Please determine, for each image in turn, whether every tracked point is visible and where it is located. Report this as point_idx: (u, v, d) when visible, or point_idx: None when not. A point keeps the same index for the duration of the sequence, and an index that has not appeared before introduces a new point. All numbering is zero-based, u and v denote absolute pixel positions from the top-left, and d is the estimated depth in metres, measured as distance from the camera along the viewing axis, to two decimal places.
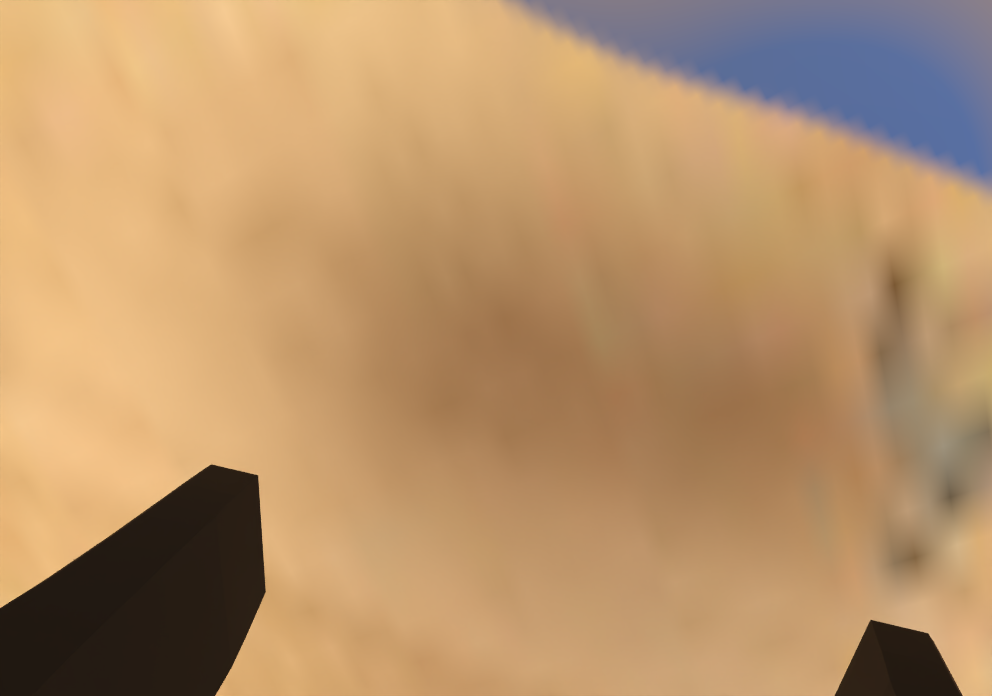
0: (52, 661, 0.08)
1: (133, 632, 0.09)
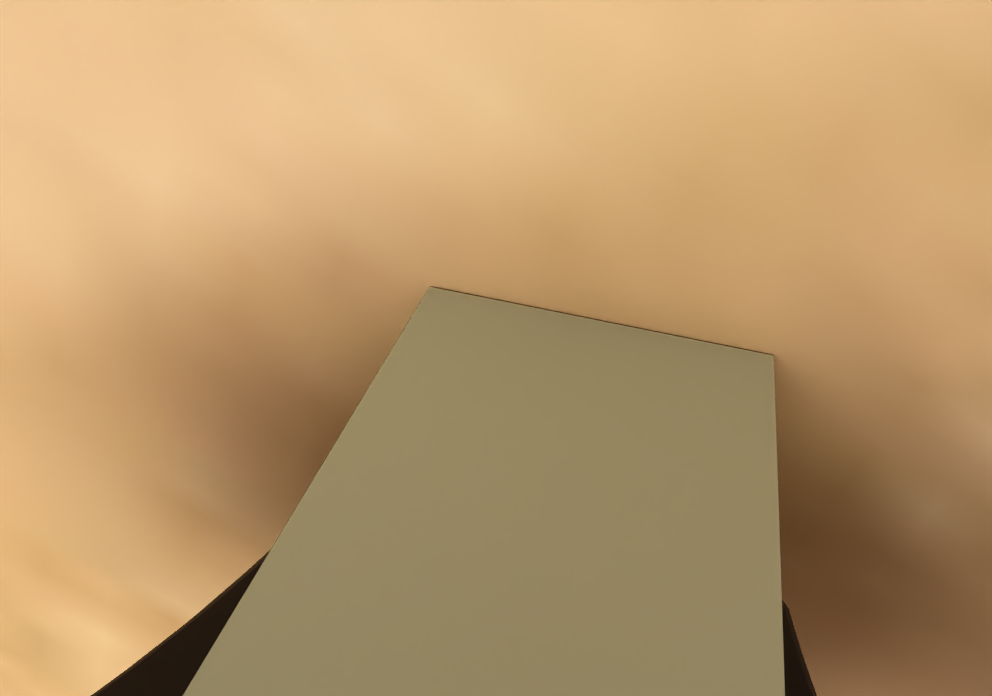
0: None
1: None
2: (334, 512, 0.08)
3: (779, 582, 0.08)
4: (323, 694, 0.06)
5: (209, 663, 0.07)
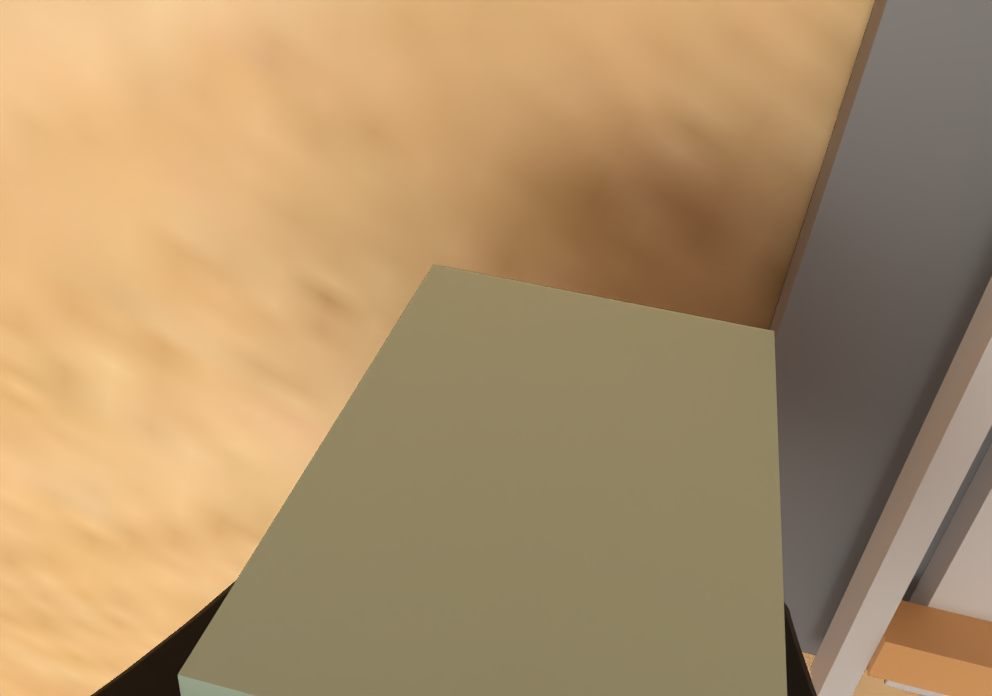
0: None
1: None
2: (340, 477, 0.08)
3: (780, 545, 0.08)
4: (330, 649, 0.06)
5: (219, 619, 0.07)
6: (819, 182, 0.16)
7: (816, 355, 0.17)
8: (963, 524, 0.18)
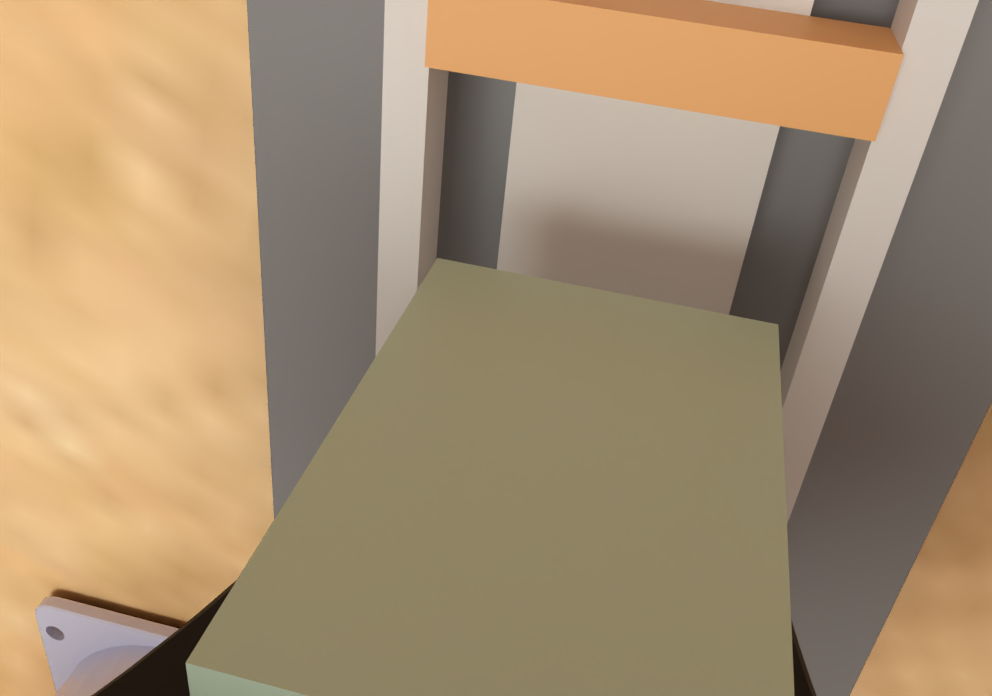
0: None
1: None
2: (346, 468, 0.08)
3: (786, 536, 0.08)
4: (339, 637, 0.06)
5: (226, 608, 0.07)
6: None
7: (304, 316, 0.16)
8: None
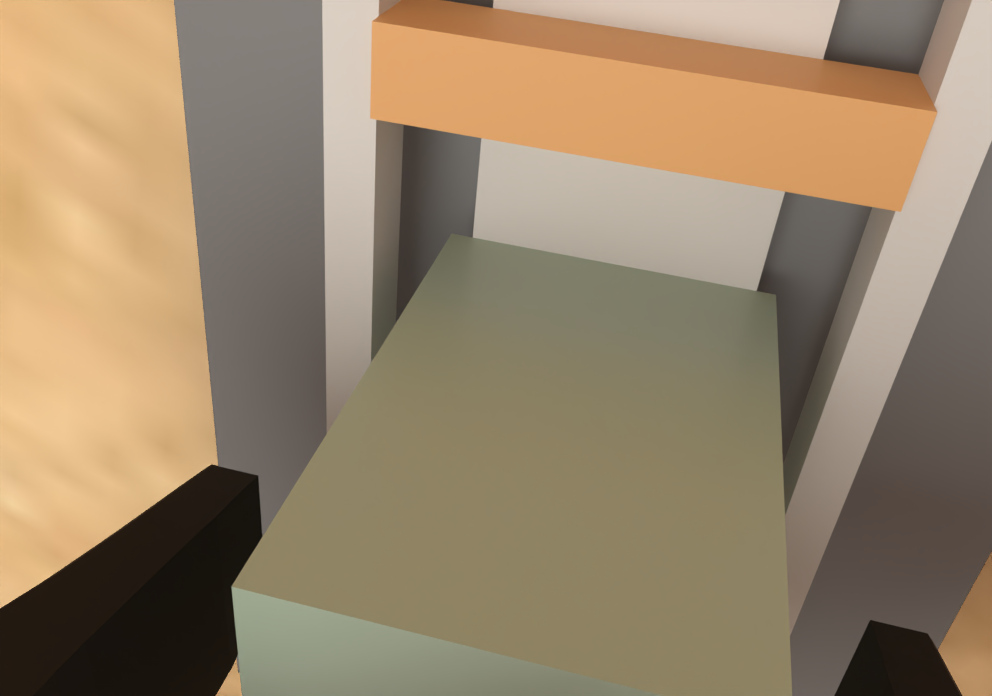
0: (52, 661, 0.08)
1: (133, 632, 0.09)
2: (372, 420, 0.08)
3: (782, 482, 0.08)
4: (369, 566, 0.07)
5: (266, 541, 0.07)
6: None
7: (254, 378, 0.15)
8: None
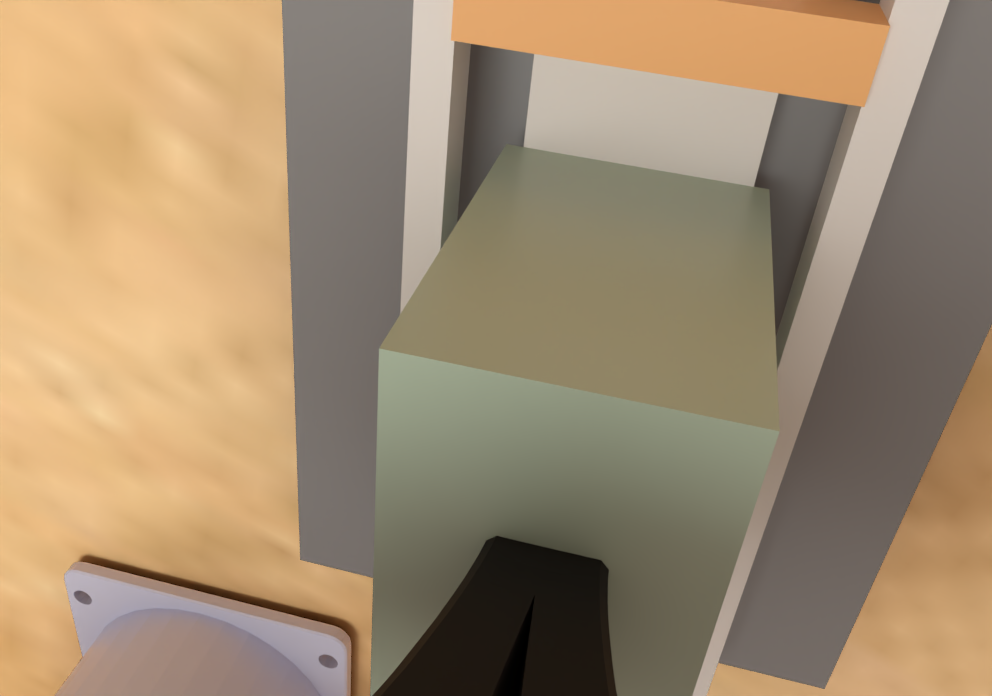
0: None
1: None
2: (462, 259, 0.11)
3: (773, 303, 0.11)
4: (473, 341, 0.10)
5: (397, 325, 0.10)
6: None
7: (330, 282, 0.17)
8: None
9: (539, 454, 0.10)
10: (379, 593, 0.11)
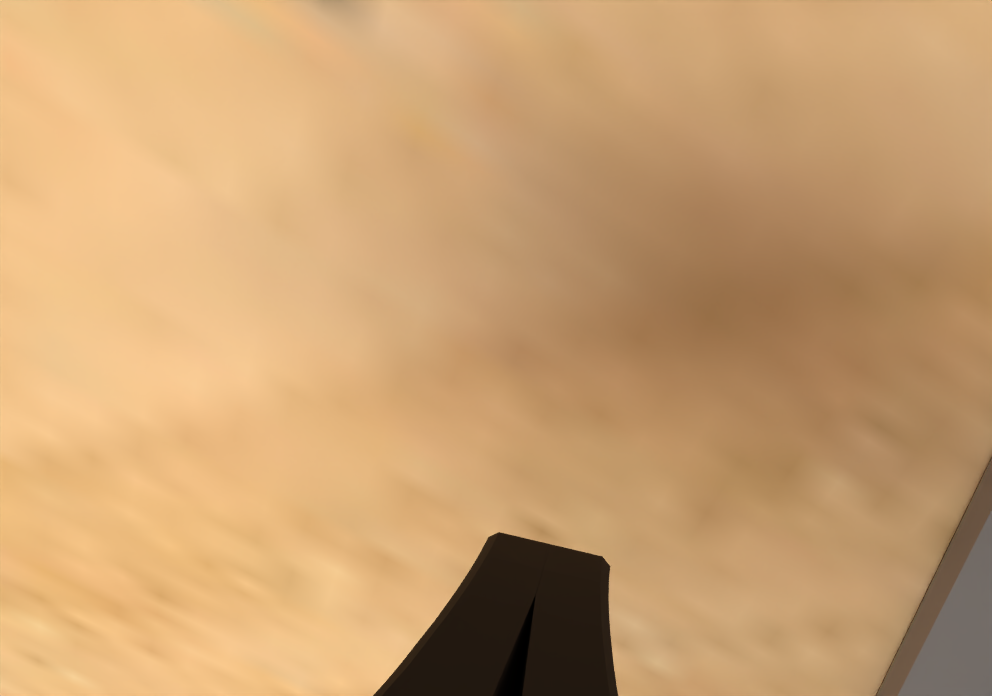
0: None
1: None
2: None
3: None
4: None
5: None
6: (991, 473, 0.19)
7: (984, 605, 0.20)
8: None
9: None
10: None
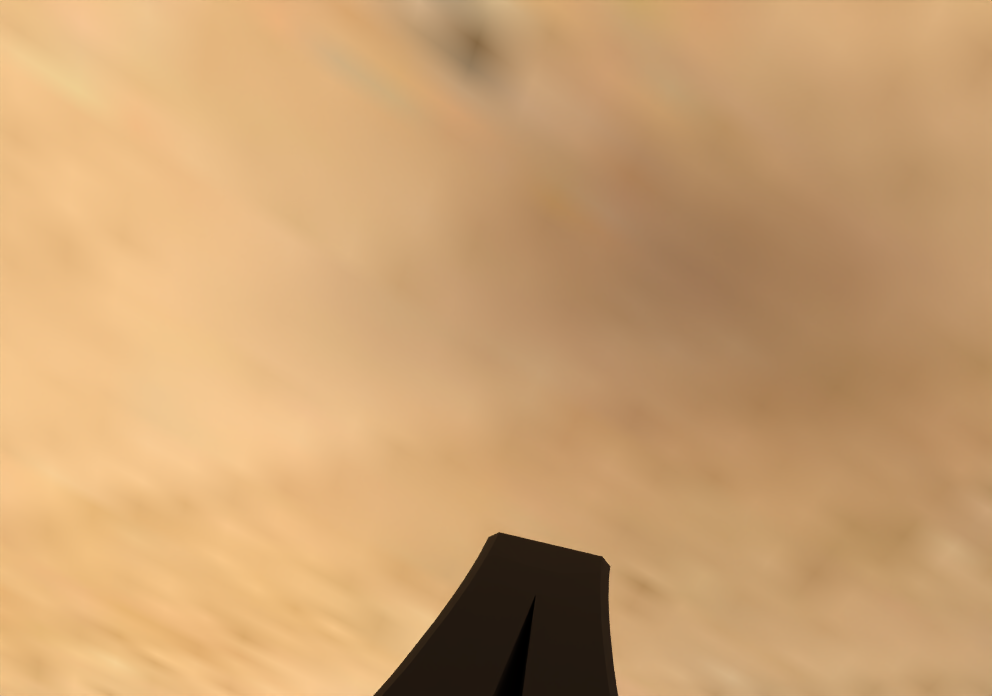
0: None
1: None
2: None
3: None
4: None
5: None
6: None
7: None
8: None
9: None
10: None
